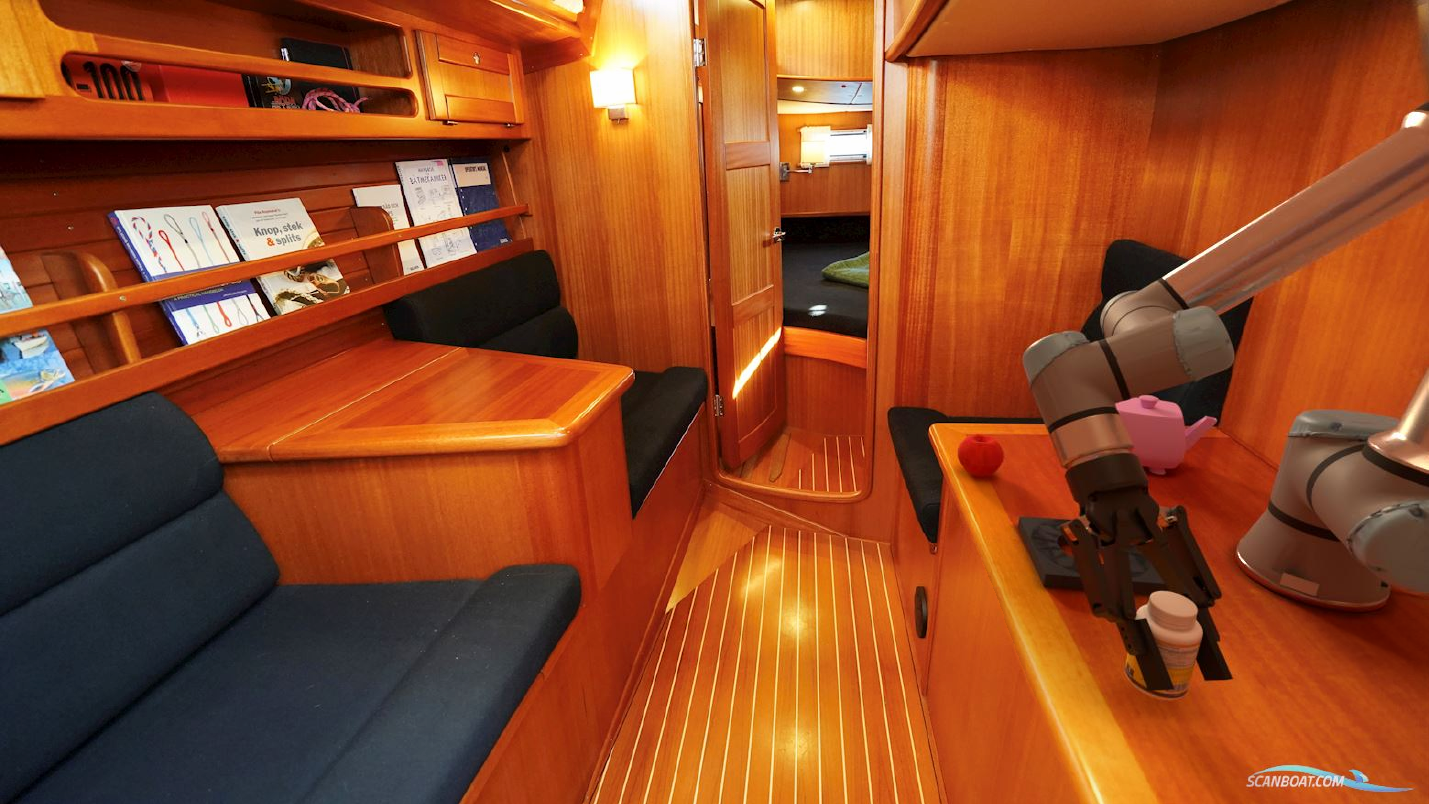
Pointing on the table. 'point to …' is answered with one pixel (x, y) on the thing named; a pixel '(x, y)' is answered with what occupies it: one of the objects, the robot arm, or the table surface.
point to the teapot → (1159, 431)
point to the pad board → (1062, 568)
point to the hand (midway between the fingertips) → (1190, 684)
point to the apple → (980, 455)
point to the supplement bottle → (1169, 642)
